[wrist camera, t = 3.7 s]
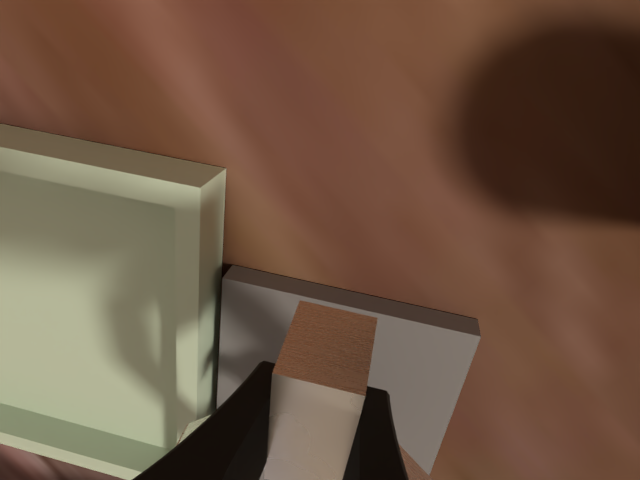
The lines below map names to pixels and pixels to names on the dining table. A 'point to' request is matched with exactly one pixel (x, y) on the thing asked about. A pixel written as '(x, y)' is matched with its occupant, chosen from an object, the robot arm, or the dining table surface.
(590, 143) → the dining table surface
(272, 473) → the ring
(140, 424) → the tray
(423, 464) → the base
